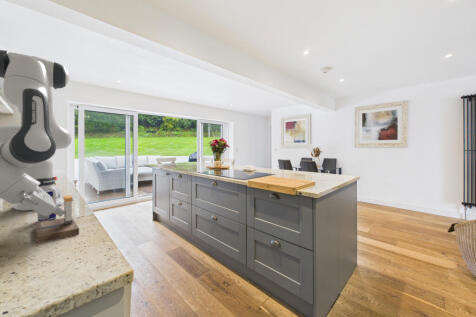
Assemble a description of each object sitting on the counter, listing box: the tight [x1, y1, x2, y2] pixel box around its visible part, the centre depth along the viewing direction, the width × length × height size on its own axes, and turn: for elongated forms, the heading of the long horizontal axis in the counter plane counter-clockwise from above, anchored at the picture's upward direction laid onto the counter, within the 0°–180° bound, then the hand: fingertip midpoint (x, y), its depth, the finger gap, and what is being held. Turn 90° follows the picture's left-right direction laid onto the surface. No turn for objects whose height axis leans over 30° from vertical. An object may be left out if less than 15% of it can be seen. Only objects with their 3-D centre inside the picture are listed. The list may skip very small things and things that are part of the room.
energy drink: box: [37, 189, 57, 223], centre depth 79 cm, size 5×5×12 cm
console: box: [35, 217, 80, 244], centre depth 70 cm, size 10×16×2 cm, turn 47°
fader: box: [63, 194, 74, 224], centre depth 72 cm, size 2×5×9 cm, turn 47°
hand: (62, 213), depth 71 cm, fingers closed, pressing on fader
